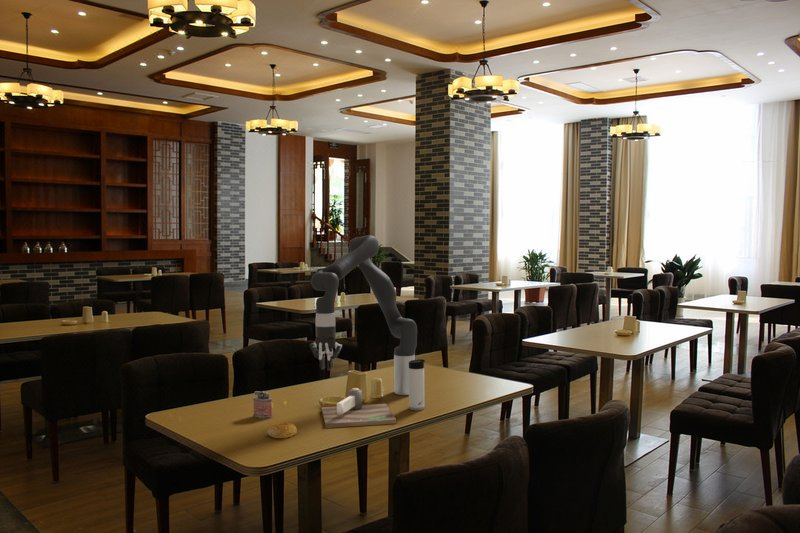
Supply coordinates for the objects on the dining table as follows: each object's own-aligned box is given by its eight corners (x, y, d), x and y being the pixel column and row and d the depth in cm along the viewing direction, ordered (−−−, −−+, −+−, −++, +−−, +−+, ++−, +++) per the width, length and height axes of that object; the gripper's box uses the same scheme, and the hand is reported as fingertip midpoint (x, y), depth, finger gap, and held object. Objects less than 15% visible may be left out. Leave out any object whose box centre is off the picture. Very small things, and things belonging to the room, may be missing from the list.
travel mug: (423, 411, 260) (423, 361, 259) (407, 410, 261) (407, 360, 260) (426, 406, 266) (426, 358, 265) (410, 406, 268) (410, 357, 267)
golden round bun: (304, 434, 232) (303, 420, 232) (279, 442, 224) (279, 428, 224) (286, 429, 239) (285, 416, 238) (261, 436, 230) (261, 423, 230)
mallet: (352, 405, 263) (351, 387, 262) (364, 406, 261) (363, 387, 260) (332, 418, 245) (332, 398, 245) (345, 419, 244) (344, 399, 243)
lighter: (274, 416, 254) (273, 391, 253) (269, 419, 251) (269, 393, 250) (256, 414, 257) (255, 389, 256) (251, 417, 253) (251, 391, 253)
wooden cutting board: (321, 411, 261) (321, 407, 261) (385, 407, 266) (385, 403, 266) (326, 427, 239) (325, 423, 239) (396, 423, 244) (396, 419, 243)
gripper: (304, 325, 248) (305, 370, 249) (337, 326, 243) (338, 372, 244) (313, 322, 255) (314, 366, 256) (346, 323, 250) (346, 368, 251)
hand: (326, 369), depth 250 cm, fingers closed
